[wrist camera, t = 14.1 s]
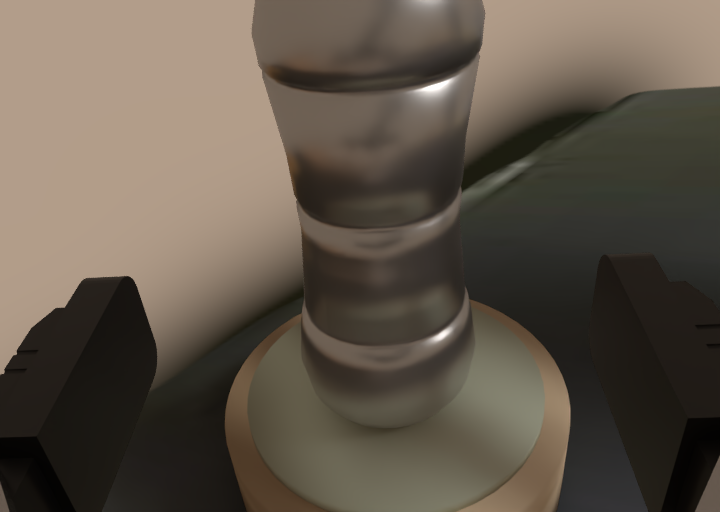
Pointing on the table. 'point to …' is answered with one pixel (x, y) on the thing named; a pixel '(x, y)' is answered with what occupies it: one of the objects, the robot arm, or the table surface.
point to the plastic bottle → (377, 193)
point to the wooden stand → (403, 435)
